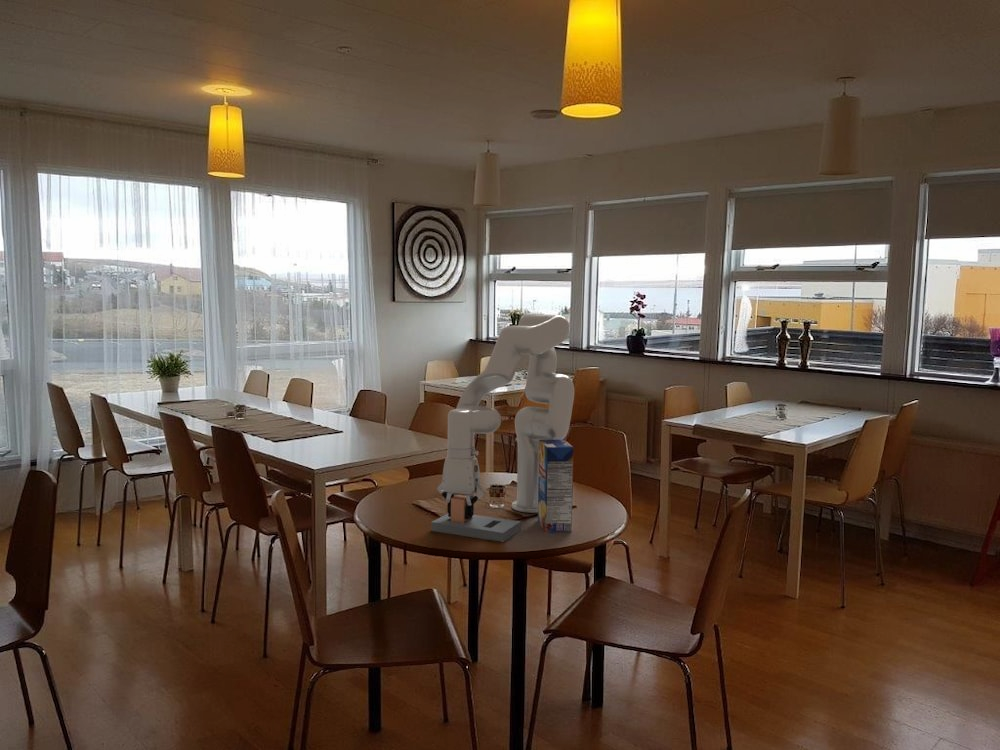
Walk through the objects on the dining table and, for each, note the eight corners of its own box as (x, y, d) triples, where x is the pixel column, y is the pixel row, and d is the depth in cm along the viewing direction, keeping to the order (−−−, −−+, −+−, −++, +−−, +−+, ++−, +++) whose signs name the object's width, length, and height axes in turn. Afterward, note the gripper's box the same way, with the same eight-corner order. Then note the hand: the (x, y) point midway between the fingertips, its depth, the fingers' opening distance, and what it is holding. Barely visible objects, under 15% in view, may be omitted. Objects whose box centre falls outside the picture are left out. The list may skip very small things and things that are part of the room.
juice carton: (537, 520, 224) (539, 439, 221) (562, 519, 225) (564, 439, 222) (545, 532, 212) (547, 447, 210) (571, 532, 213) (573, 447, 211)
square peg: (457, 526, 218) (457, 495, 217) (469, 527, 216) (470, 496, 215) (450, 529, 214) (450, 498, 213) (463, 531, 212) (463, 500, 212)
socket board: (451, 519, 223) (451, 511, 223) (520, 530, 214) (520, 521, 214) (431, 530, 212) (431, 522, 212) (503, 541, 203) (503, 532, 203)
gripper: (494, 453, 213) (493, 517, 215) (440, 448, 220) (440, 510, 222) (482, 458, 206) (481, 524, 208) (427, 452, 213) (427, 516, 215)
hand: (460, 516), depth 215 cm, fingers open, 4 cm apart
